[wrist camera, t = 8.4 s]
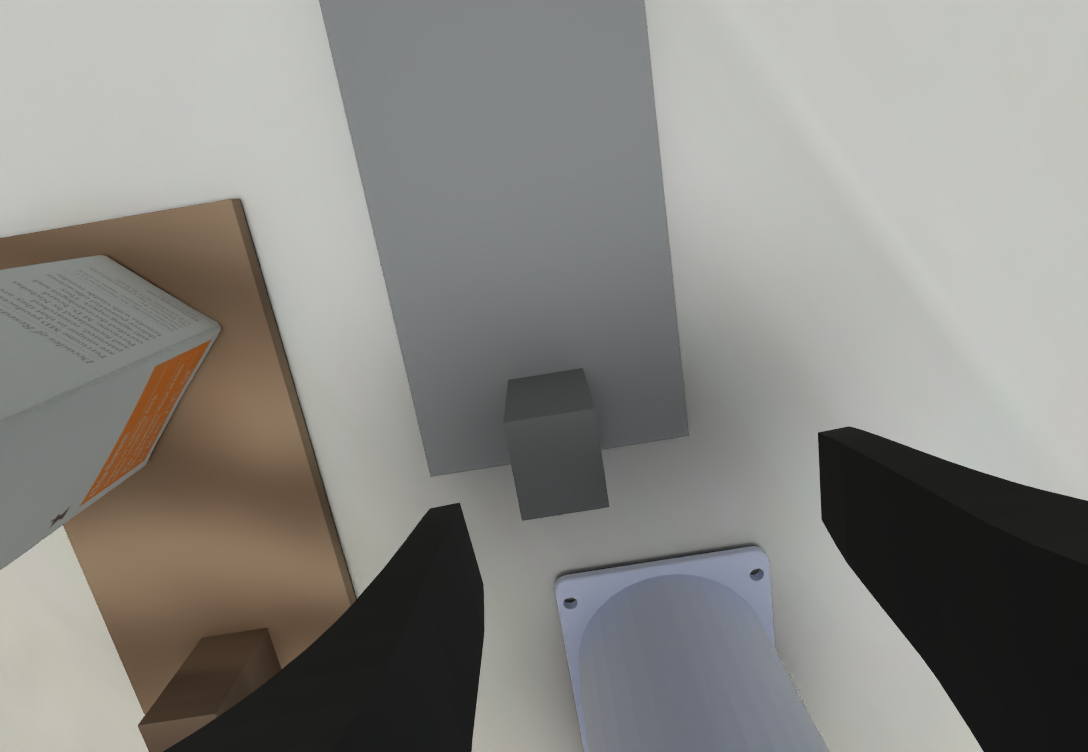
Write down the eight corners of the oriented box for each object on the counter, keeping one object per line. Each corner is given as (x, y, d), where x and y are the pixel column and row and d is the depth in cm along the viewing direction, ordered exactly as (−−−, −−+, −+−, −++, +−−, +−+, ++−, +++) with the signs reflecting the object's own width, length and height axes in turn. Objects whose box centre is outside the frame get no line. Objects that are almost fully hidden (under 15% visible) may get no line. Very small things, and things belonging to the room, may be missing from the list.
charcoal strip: (684, 429, 22) (723, 488, 18) (433, 469, 22) (409, 538, 18) (620, -185, 17) (652, -315, 13) (295, -125, 17) (214, -233, 13)
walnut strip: (375, 668, 25) (342, 772, 20) (153, 702, 25) (72, 812, 20) (239, 198, 20) (154, 201, 15) (-40, 246, 20) (-203, 262, 15)
